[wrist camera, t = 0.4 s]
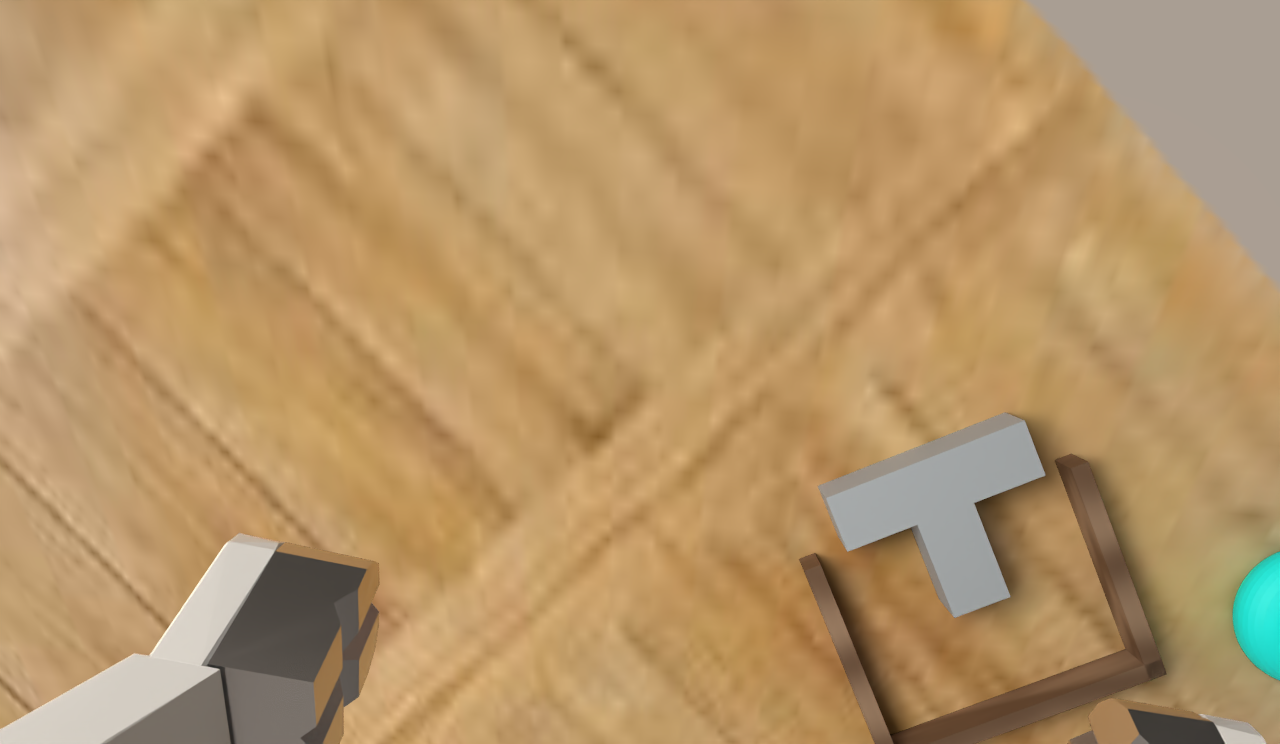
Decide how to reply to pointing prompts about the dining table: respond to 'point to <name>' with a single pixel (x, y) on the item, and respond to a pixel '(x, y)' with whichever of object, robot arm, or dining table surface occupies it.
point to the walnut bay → (957, 733)
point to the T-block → (940, 504)
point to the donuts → (1260, 615)
